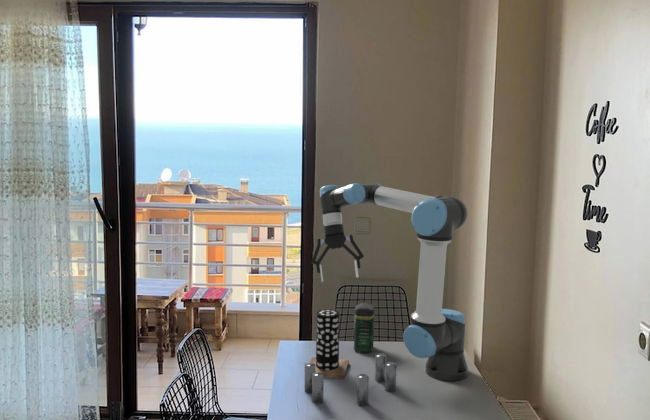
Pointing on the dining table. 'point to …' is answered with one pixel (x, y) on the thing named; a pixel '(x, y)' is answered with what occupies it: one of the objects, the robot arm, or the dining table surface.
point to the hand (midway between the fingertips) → (340, 279)
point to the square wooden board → (335, 373)
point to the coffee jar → (364, 327)
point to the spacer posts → (316, 380)
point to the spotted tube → (327, 339)
